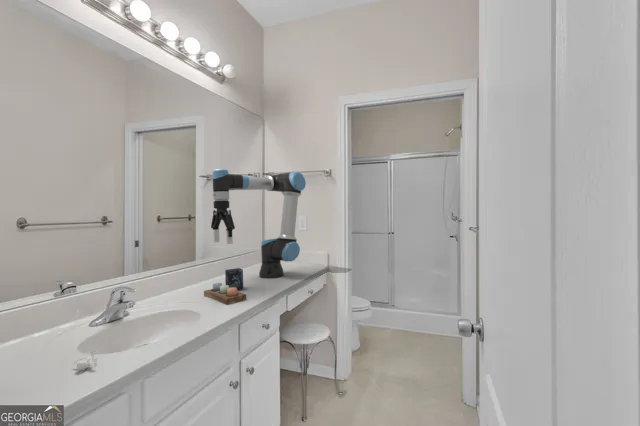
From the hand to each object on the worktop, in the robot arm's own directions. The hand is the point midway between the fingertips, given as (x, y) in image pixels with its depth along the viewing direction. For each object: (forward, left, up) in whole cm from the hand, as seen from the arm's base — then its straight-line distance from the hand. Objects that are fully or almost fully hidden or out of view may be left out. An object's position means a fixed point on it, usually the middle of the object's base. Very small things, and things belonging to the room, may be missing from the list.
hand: (223, 243), depth 157 cm
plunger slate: (+4, +1, -24) cm, 24 cm away
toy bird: (+62, +43, -25) cm, 80 cm away
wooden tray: (+4, +8, -25) cm, 27 cm away
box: (-7, -3, -25) cm, 27 cm away
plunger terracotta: (+4, +15, -24) cm, 28 cm away
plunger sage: (+4, +8, -24) cm, 25 cm away
